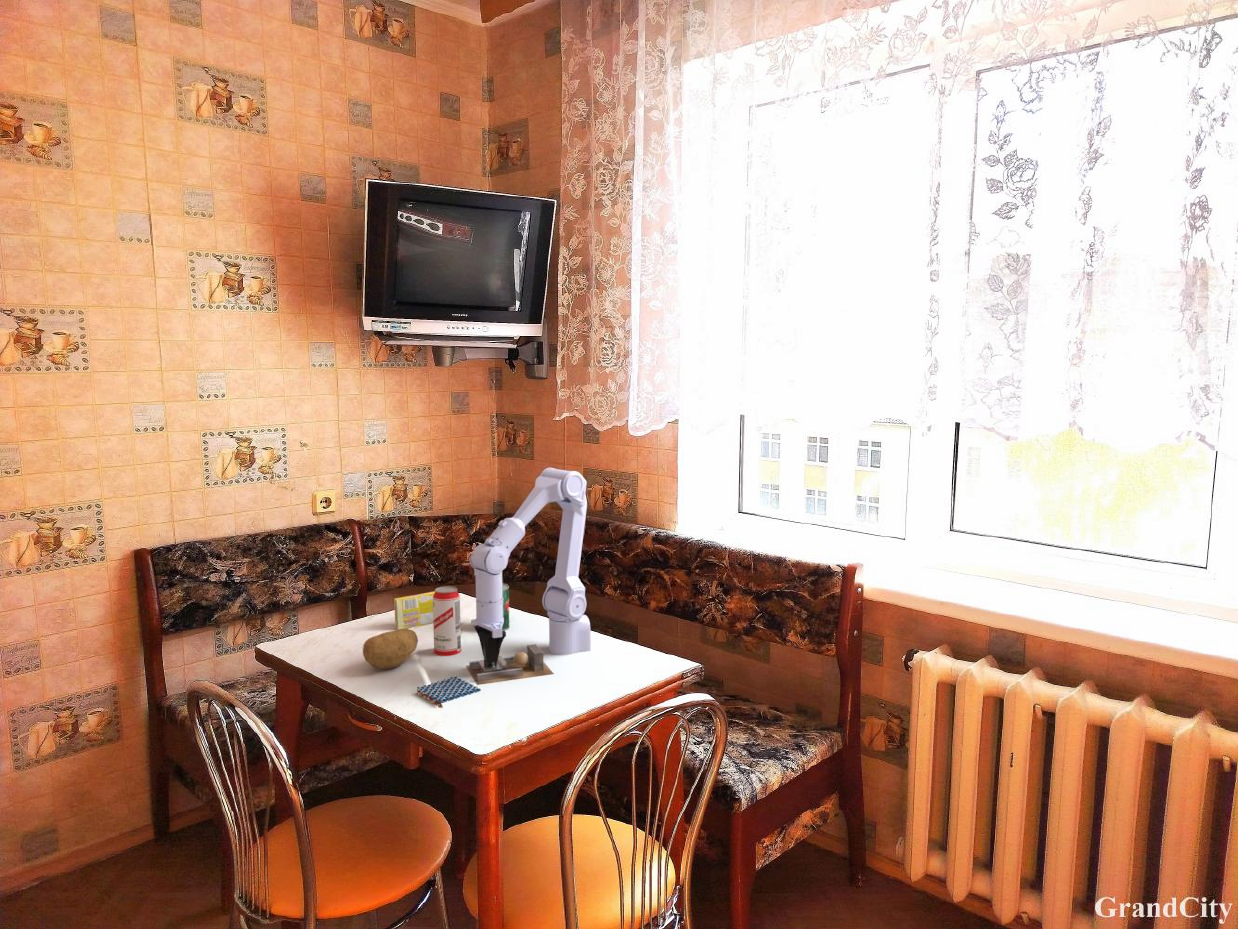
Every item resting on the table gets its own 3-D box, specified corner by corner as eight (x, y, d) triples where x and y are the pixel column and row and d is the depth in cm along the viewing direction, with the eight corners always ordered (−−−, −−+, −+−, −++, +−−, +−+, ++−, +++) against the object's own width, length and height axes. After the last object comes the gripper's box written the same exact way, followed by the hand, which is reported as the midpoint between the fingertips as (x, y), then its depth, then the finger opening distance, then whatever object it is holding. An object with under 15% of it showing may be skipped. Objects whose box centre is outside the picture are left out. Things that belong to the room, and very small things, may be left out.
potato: (430, 660, 198) (429, 627, 197) (382, 679, 186) (381, 644, 185) (401, 652, 203) (400, 620, 202) (353, 670, 192) (351, 636, 190)
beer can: (455, 660, 198) (453, 593, 196) (429, 658, 199) (427, 592, 197) (465, 651, 204) (463, 586, 202) (440, 649, 205) (438, 585, 203)
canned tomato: (515, 627, 222) (515, 586, 220) (492, 634, 216) (491, 592, 215) (495, 621, 227) (495, 580, 226) (472, 628, 221) (471, 586, 220)
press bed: (538, 660, 198) (538, 639, 197) (554, 678, 187) (553, 656, 186) (465, 670, 192) (465, 648, 191) (477, 689, 181) (476, 666, 180)
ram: (500, 665, 192) (500, 640, 191) (507, 674, 186) (506, 648, 185) (478, 668, 190) (478, 642, 189) (484, 677, 184) (484, 651, 183)
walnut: (526, 664, 193) (526, 648, 192) (531, 669, 189) (530, 654, 189) (511, 666, 191) (510, 651, 191) (515, 672, 188) (515, 656, 188)
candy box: (452, 617, 230) (451, 587, 229) (455, 619, 229) (455, 589, 228) (394, 628, 221) (393, 597, 220) (397, 631, 219) (396, 599, 218)
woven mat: (456, 683, 186) (456, 674, 185) (483, 697, 178) (483, 687, 178) (413, 696, 179) (413, 686, 178) (440, 711, 171) (439, 701, 171)
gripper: (464, 592, 191) (465, 651, 193) (478, 610, 178) (479, 673, 179) (495, 589, 193) (496, 647, 195) (511, 607, 180) (512, 669, 182)
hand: (490, 659), depth 187 cm, fingers closed on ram, 3 cm apart
